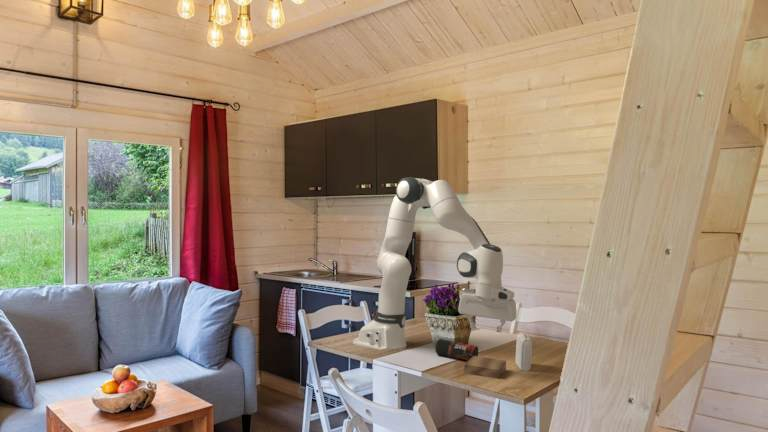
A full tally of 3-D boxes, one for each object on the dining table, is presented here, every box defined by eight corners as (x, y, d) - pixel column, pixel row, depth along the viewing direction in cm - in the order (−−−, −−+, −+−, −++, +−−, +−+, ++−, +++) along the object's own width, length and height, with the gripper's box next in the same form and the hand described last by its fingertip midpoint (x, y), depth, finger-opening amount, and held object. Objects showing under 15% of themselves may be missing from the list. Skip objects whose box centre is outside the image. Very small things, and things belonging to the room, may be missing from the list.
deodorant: (478, 355, 221) (443, 348, 228) (477, 343, 219) (441, 336, 226) (473, 365, 216) (436, 357, 224) (471, 352, 214) (434, 344, 222)
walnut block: (464, 375, 203) (464, 364, 202) (473, 366, 214) (473, 355, 213) (498, 381, 198) (498, 370, 198) (505, 371, 209) (506, 360, 209)
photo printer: (513, 362, 219) (515, 330, 219) (525, 363, 219) (527, 330, 219) (519, 371, 209) (522, 337, 208) (531, 371, 209) (534, 337, 208)
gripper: (457, 288, 205) (454, 327, 206) (515, 296, 197) (512, 336, 198) (462, 286, 211) (459, 323, 212) (518, 293, 203) (516, 332, 204)
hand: (485, 329), depth 205 cm, fingers open, 8 cm apart
